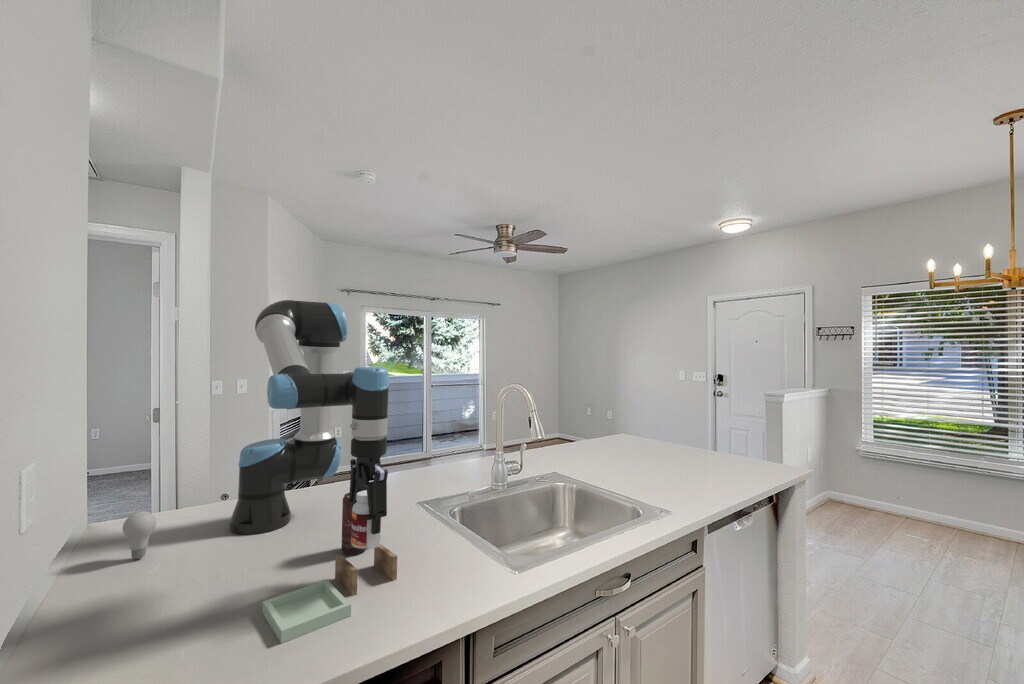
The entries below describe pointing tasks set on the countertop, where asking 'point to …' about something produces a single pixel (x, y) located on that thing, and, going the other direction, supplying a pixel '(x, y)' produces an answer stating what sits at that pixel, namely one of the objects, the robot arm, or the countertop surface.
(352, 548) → the can
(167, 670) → the countertop surface
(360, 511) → the pill bottle
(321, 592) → the tray
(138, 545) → the lightbulb
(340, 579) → the rack
